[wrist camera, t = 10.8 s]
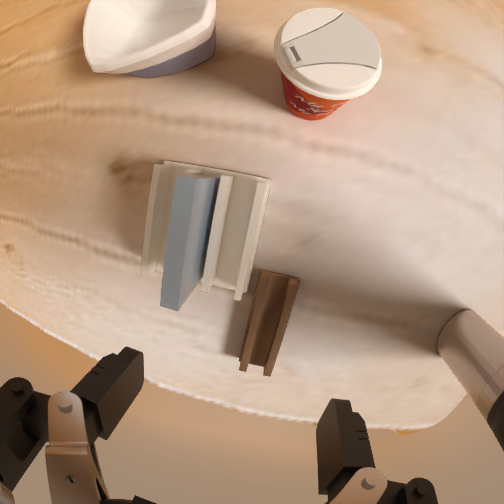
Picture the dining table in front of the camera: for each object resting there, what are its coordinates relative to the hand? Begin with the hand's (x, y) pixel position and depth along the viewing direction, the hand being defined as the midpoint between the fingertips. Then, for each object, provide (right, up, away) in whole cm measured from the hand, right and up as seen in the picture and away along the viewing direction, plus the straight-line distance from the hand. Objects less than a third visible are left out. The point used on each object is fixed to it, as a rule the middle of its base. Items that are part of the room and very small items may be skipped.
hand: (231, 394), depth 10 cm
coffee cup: (+8, +24, +19) cm, 32 cm away
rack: (-5, +9, +24) cm, 26 cm away
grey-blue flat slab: (-5, +9, +23) cm, 25 cm away
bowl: (-10, +34, +18) cm, 40 cm away
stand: (+3, -4, +26) cm, 27 cm away
